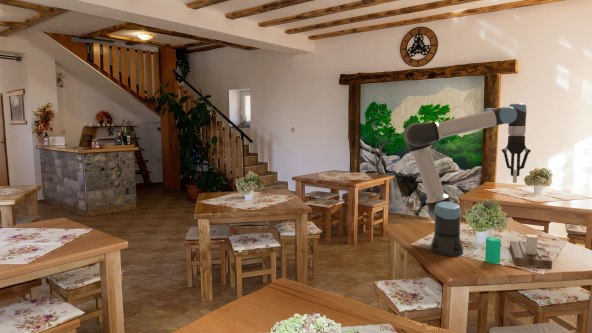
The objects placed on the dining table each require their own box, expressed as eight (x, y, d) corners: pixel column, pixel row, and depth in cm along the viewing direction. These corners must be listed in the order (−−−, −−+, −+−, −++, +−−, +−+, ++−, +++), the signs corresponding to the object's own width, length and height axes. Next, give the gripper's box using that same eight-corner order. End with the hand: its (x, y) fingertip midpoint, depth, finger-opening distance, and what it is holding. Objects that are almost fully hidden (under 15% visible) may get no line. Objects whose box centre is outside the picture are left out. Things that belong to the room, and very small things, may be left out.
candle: (482, 260, 187) (483, 234, 186) (491, 258, 190) (492, 233, 189) (493, 264, 182) (494, 237, 181) (502, 262, 184) (503, 236, 183)
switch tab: (526, 253, 185) (527, 236, 185) (525, 251, 189) (526, 234, 188) (536, 254, 184) (537, 237, 183) (535, 252, 187) (536, 235, 187)
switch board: (514, 263, 182) (515, 255, 182) (510, 246, 208) (510, 238, 207) (551, 267, 177) (552, 258, 176) (542, 249, 202) (542, 241, 202)
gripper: (530, 135, 204) (528, 182, 207) (501, 135, 210) (499, 181, 212) (532, 135, 198) (530, 184, 200) (502, 135, 203) (500, 182, 205)
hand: (514, 182), depth 206 cm, fingers closed
